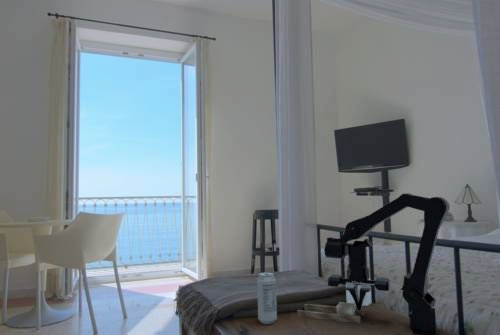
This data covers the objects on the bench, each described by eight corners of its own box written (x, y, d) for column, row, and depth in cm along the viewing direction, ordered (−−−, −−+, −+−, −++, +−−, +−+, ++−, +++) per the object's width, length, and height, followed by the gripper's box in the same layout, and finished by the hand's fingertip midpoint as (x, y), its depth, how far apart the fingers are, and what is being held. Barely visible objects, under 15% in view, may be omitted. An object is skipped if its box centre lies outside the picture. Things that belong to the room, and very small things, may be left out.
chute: (364, 316, 126) (364, 309, 126) (360, 325, 118) (359, 317, 118) (305, 310, 134) (305, 303, 135) (297, 318, 126) (297, 310, 126)
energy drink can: (272, 317, 127) (271, 271, 129) (280, 323, 122) (278, 274, 123) (255, 320, 125) (254, 273, 127) (262, 325, 120) (261, 276, 121)
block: (355, 315, 125) (355, 303, 126) (352, 320, 121) (352, 307, 121) (340, 314, 127) (339, 301, 128) (336, 318, 123) (336, 305, 123)
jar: (369, 301, 145) (367, 268, 146) (374, 307, 136) (372, 272, 137) (344, 301, 145) (343, 268, 146) (348, 307, 137) (347, 273, 138)
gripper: (390, 257, 127) (392, 306, 126) (334, 255, 135) (335, 300, 134) (387, 263, 117) (389, 315, 116) (326, 260, 125) (328, 309, 124)
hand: (359, 309), depth 123 cm, fingers closed
